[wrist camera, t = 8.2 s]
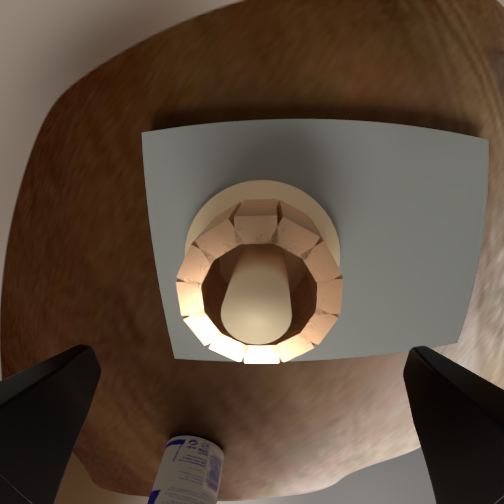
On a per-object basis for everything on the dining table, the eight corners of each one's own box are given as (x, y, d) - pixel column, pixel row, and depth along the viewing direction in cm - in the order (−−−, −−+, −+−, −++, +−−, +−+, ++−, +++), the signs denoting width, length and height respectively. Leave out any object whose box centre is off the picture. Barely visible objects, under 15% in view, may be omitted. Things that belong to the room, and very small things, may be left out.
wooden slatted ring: (326, 197, 14) (346, 214, 10) (322, 315, 16) (334, 360, 12) (194, 202, 14) (167, 220, 10) (207, 316, 16) (190, 361, 12)
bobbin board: (477, 139, 13) (557, 144, 7) (450, 334, 18) (496, 395, 11) (150, 133, 15) (73, 126, 8) (179, 348, 19) (145, 425, 13)
